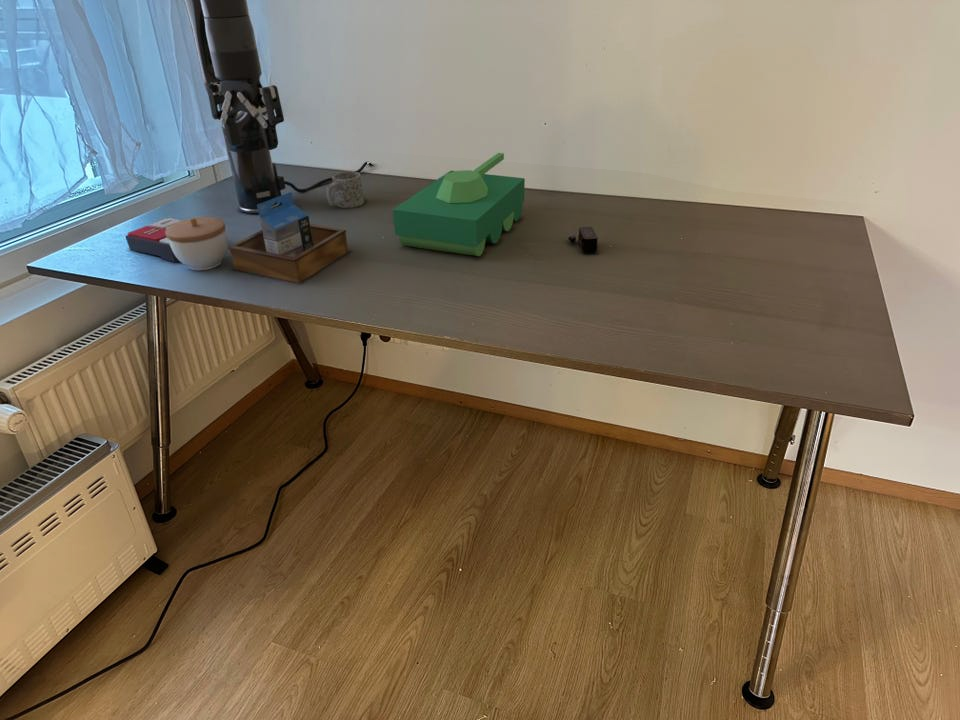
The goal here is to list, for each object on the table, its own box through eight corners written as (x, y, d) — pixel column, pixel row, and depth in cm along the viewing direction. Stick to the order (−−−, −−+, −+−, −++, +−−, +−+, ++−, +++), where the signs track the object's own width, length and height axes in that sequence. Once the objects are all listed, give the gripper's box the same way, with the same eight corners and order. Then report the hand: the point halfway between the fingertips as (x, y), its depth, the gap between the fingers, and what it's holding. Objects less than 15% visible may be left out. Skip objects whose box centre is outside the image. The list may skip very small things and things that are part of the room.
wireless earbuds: (590, 240, 135) (591, 225, 134) (597, 254, 129) (598, 238, 128) (567, 241, 135) (568, 225, 134) (573, 255, 129) (574, 239, 128)
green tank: (536, 151, 148) (475, 201, 121) (535, 204, 155) (477, 263, 127) (464, 145, 154) (390, 190, 127) (465, 196, 160) (396, 250, 133)
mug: (350, 196, 163) (346, 169, 159) (369, 201, 159) (366, 174, 156) (319, 208, 156) (315, 180, 152) (339, 213, 152) (335, 185, 149)
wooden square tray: (287, 240, 139) (283, 219, 137) (349, 251, 133) (346, 229, 131) (233, 269, 127) (228, 246, 125) (299, 283, 122) (294, 259, 119)
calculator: (168, 215, 143) (214, 223, 136) (174, 234, 145) (220, 243, 138) (122, 232, 135) (169, 242, 128) (129, 252, 138) (176, 262, 131)
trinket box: (244, 256, 133) (233, 211, 128) (210, 278, 124) (198, 231, 119) (199, 250, 136) (187, 206, 131) (164, 272, 127) (149, 225, 122)
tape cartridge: (283, 270, 126) (270, 208, 120) (268, 266, 128) (255, 205, 122) (315, 254, 133) (305, 194, 126) (301, 250, 135) (291, 191, 128)
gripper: (281, 45, 109) (298, 145, 118) (217, 42, 115) (238, 138, 123) (249, 51, 104) (270, 156, 112) (184, 48, 109) (208, 148, 118)
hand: (253, 146), depth 118 cm, fingers open, 8 cm apart
